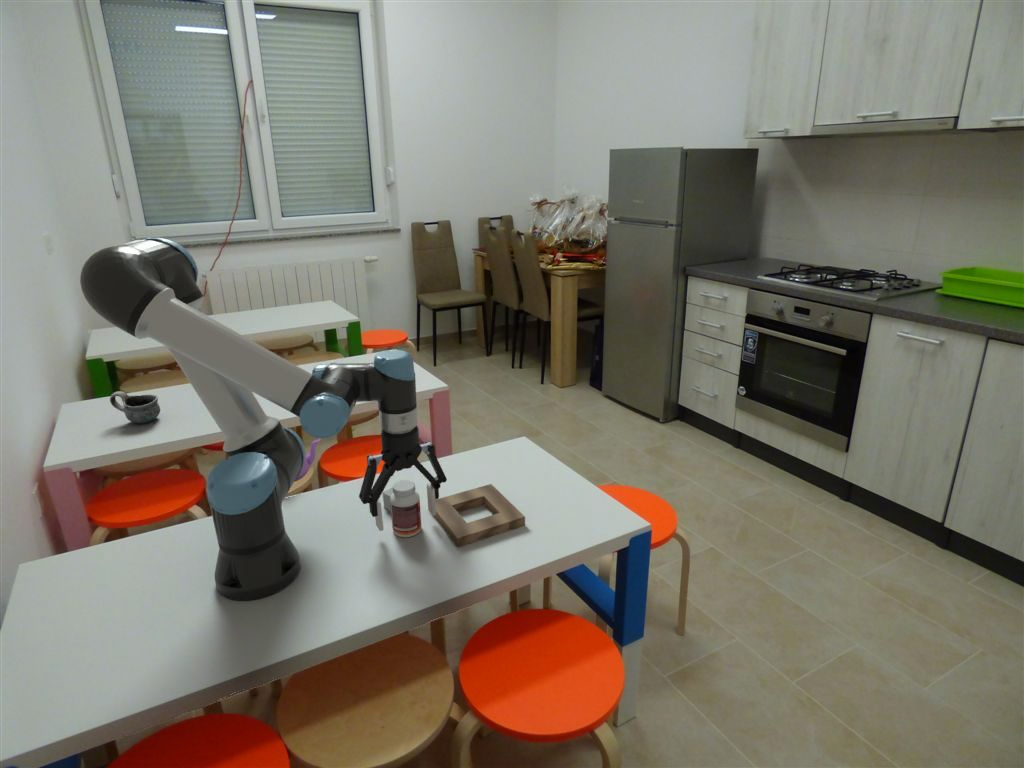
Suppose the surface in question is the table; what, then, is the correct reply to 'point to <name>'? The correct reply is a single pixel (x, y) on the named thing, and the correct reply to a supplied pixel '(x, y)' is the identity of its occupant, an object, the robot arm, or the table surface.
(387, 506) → the grey eraser block
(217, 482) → the robot arm
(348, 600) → the table surface
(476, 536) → the socket board
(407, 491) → the pill bottle
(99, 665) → the table surface
